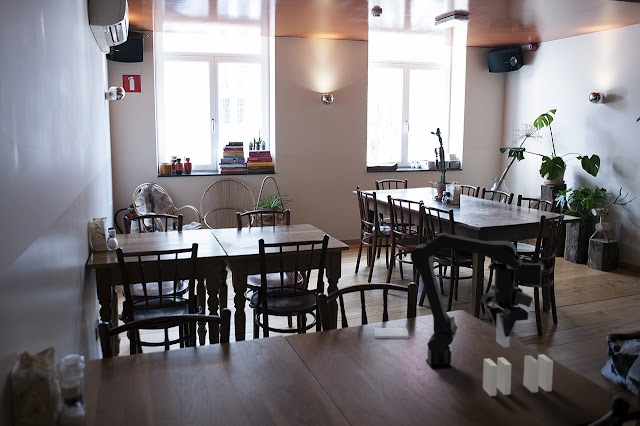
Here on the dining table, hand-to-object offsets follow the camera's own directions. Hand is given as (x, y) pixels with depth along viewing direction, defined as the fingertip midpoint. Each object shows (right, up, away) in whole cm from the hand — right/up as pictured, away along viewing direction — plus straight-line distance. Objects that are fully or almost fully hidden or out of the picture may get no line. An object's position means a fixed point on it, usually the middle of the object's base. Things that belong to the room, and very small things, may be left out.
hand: (502, 333), depth 169 cm
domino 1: (-7, -15, -9) cm, 19 cm away
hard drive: (-30, -9, +36) cm, 47 cm away
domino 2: (0, -3, +1) cm, 4 cm away
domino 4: (+6, -14, -7) cm, 17 cm away
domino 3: (-3, -15, -9) cm, 17 cm away
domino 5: (+10, -14, -7) cm, 19 cm away
